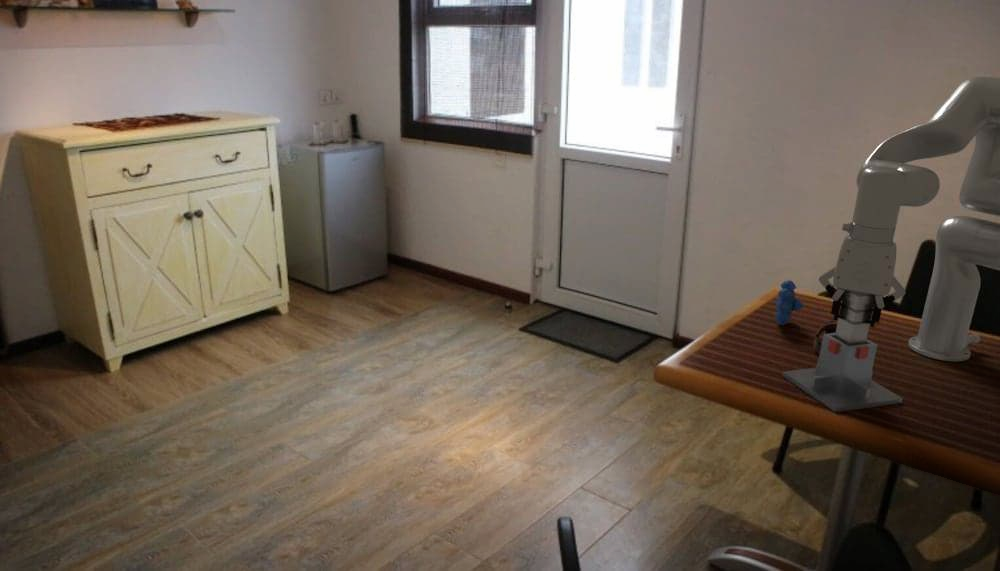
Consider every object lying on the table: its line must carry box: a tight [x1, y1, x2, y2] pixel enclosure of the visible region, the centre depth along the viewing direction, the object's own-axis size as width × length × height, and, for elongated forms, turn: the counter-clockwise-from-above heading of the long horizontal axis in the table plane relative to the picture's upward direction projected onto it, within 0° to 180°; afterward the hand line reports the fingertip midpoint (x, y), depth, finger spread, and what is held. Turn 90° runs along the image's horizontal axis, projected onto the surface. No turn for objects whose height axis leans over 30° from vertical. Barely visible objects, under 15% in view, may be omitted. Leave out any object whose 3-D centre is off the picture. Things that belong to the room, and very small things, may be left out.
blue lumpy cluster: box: [774, 279, 805, 326], centre depth 183 cm, size 12×7×12 cm, turn 150°
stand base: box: [781, 333, 904, 413], centre depth 151 cm, size 16×16×11 cm
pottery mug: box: [813, 320, 838, 354], centre depth 170 cm, size 12×10×8 cm
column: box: [835, 290, 876, 346], centre depth 149 cm, size 4×4×19 cm
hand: (854, 320), depth 148 cm, fingers closed on column, 6 cm apart
